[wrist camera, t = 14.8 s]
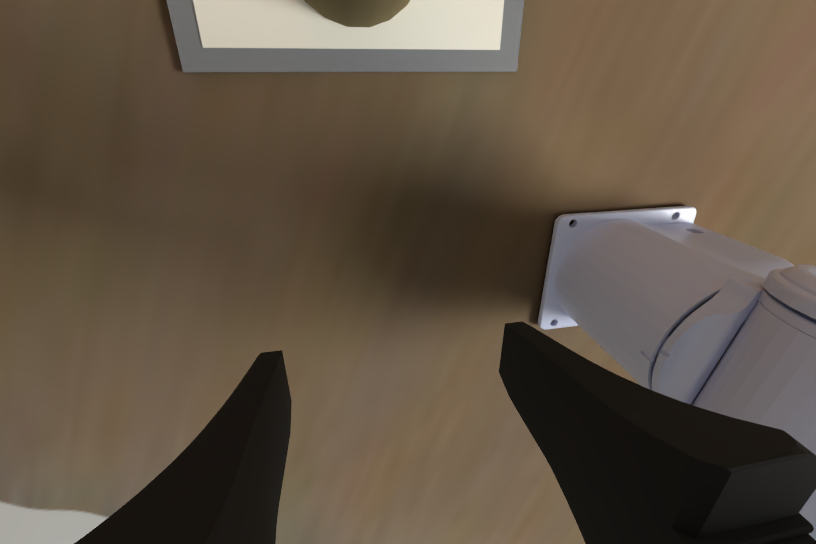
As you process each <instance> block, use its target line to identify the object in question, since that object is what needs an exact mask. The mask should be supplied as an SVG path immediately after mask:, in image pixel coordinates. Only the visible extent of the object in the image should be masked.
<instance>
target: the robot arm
mask: <svg viewBox="0 0 816 544" xmlns="http://www.w3.org/2000/svg"><path fill="white" fill-rule="evenodd" d="M674 213H675V214H674ZM673 214H674V216H673ZM672 216H673V217H672ZM695 216H696V209H695V208H694V207H691V206H676V207H662V208H647V209H633V210H618V211H604V212H589V213H575V214H563V215H560V216H559V217H557V219H556V220H555V224H554V229H553V235H552V241H551V247H550V253H549V259H548V265H547V271H546V276H545V282H544V288H543V294H542V300H541V306H540V312H539V317H538V325H539V326H540V327H541V328H542V329H554V328H562V327H570V326H578V325H579V326H580V327H581V328H582V329H583V330H584V331H585V332H586V333H587V334H588V335H589V336H590V337H591V338H592V339H593V340H594V341H595V342H596V343H597V344H598V345H600V346H601V347H602V348H603V349H604V350H605V351H606V352H607V353H608V354H609V355H610V356H611V357H612V358H613V359H614V360H615V361H616V362H617V363H618V364H619V365H620V366H621V367H622V368H623V369H624V370H625V371H626V372H628V373H629V374H630V375H631V376H632V377H633V378H634V379H635V380H636V381H637V382H638V383H639V384H640V385H641V386H640V385H638V384H636V383H634V382H631V381H629V380H627V379H625V378H622V377H620V376H618V375H616V374H614V373H612V372H610V371H608V370H606V369H604V368H602V367H600V366H598V365H597V364H595V363H593V362H591V361H589V360H587V359H585V358H584V357H582V356H580V355H578V354H577V353H575V352H573V351H571V350H570V349H568V348H566V347H565V346H563V345H561V344H560V343H558V342H556V341H555V340H553V339H551V338H550V337H548V336H546V335H545V334H543V333H541V332H540V331H538V330H536V329H535V328H533V327H531V326H529V325H528V324H526V323H524V322H515V323H507V324H505V328H504V336H503V344H502V352H501V360H500V368H499V373H500V375H501V378H502V380H503V383H504V385H505V388H506V390H507V392H508V394H509V397H510V399H511V400H512V402H513V404H514V406H515V407H516V409H517V411H518V412H519V414H520V416H521V418H522V419H523V421H524V423H525V424H526V426H527V427H528V429H529V431H530V432H531V434H532V436H533V437H534V439H535V441H536V442H537V444H538V446H539V447H540V449H541V451H542V452H543V454H544V456H545V457H546V459H547V461H548V463H549V465H550V467H551V468H552V470H553V472H554V474H555V477H556V479H557V481H558V483H559V485H560V487H561V489H562V491H563V493H564V495H565V498H566V500H567V502H568V504H569V506H570V509H571V511H572V513H573V515H574V518H575V520H576V522H577V524H578V527H579V529H580V531H581V533H582V536H583V538H584V541H585V543H586V544H816V266H815V265H806V264H801V265H796V266H794V265H793V264H791V263H790V262H788V261H787V260H785V259H783V258H781V257H778V256H776V255H773V254H771V253H768V252H766V251H763V250H760V249H758V248H755V247H753V246H750V245H747V244H745V243H742V242H740V241H737V240H734V239H732V238H729V237H727V236H724V235H722V234H719V233H716V232H714V231H711V230H709V229H706V228H703V227H701V226H698V225H696V224H693V222H694V219H695ZM571 220H574V221H573V223H572V224H571V225H569V223H570V221H571ZM552 320H554V321H553V322H552V323H551V321H552ZM290 426H291V396H290V391H289V386H288V380H287V375H286V370H285V364H284V359H283V353H282V351H273V352H265V353H261V354H260V355H259V356H258V357H257V358H256V360H255V361H254V363H253V364H252V366H251V367H250V369H249V370H248V372H247V373H246V375H245V376H244V378H243V379H242V381H241V382H240V383H239V385H238V386H237V388H236V389H235V390H234V392H233V393H232V394H231V396H230V397H229V398H228V400H227V401H226V402H225V404H224V405H223V406H222V407H221V409H220V410H219V411H218V412H217V414H216V415H215V416H214V417H213V418H212V420H211V421H210V422H209V423H208V424H207V426H206V427H205V428H204V429H203V430H202V431H201V433H200V434H199V435H198V436H197V437H196V438H195V439H194V440H193V441H192V443H191V444H190V445H189V446H188V447H187V448H186V449H185V450H184V451H183V452H182V453H181V454H180V455H179V456H178V457H177V458H176V459H175V460H174V461H173V462H172V463H171V464H170V465H169V466H168V467H167V468H166V469H165V470H164V471H162V472H161V473H160V474H159V475H158V476H157V477H156V478H155V479H154V480H153V481H151V482H150V483H149V484H148V485H147V486H146V487H145V488H144V489H143V490H141V491H140V492H139V493H138V494H137V495H136V496H135V497H133V498H132V499H131V500H130V501H129V502H127V503H126V504H125V505H124V506H122V507H121V508H120V509H119V510H118V511H116V512H115V513H114V514H113V515H111V516H110V517H109V518H107V519H106V520H105V521H104V522H102V523H101V524H100V525H99V526H97V527H96V528H95V529H93V530H92V531H91V532H89V533H88V534H87V535H86V536H84V537H83V538H81V539H80V540H79V541H77V542H76V543H74V544H275V539H276V524H277V515H278V507H279V501H280V494H281V488H282V482H283V476H284V469H285V463H286V457H287V450H288V444H289V437H290Z"/></svg>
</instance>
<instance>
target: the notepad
mask: <svg viewBox="0 0 816 544" xmlns="http://www.w3.org/2000/svg"><path fill="white" fill-rule="evenodd" d="M166 1H167V5H168V9H169V14H170V18H171V22H172V27H173V31H174V35H175V39H176V44H177V48H178V52H179V57H180V61H181V65H182V69H183V72H517V64H518V55H519V45H520V36H521V26H522V17H523V7H524V0H410V1H409V3H408V5H407V6H406V7H405V8H403V9H402V10H401V11H400V12H399V13H397V14H396V15H395V16H394V17H393V18H392V19H390V20H389V21H386V22H383V23H380V24H378V25H375V26H372V27H346V26H344V25H341V24H339V23H336V22H334V21H331V20H329V19H326V18H324V17H323V16H322V15H321V14H320V13H318V12H317V11H316V10H315V9H313V8H312V7H311V6H310V5H309V4H307V3H306V2H305V1H304V0H166Z"/></svg>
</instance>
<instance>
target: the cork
mask: <svg viewBox="0 0 816 544" xmlns="http://www.w3.org/2000/svg"><path fill="white" fill-rule="evenodd" d="M304 1H305V2H306V3H307V4H309V5H310V6H311V7H312V8H313V9H315V10H316V11H317V12H318V13H320V14H321V15H322V16H323V17H324V18H326V19H329V20H331V21H334V22H336V23H339V24H341V25H344V26H346V27H372V26H375V25H378V24H380V23H383V22H386V21H389V20H390V19H392V18H393V17H394V16H395V15H396V14H397V13H399V12H400V11H401V10H402V9H403V8H405V7H406V6H407V5H408V3H409V1H410V0H304Z"/></svg>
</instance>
